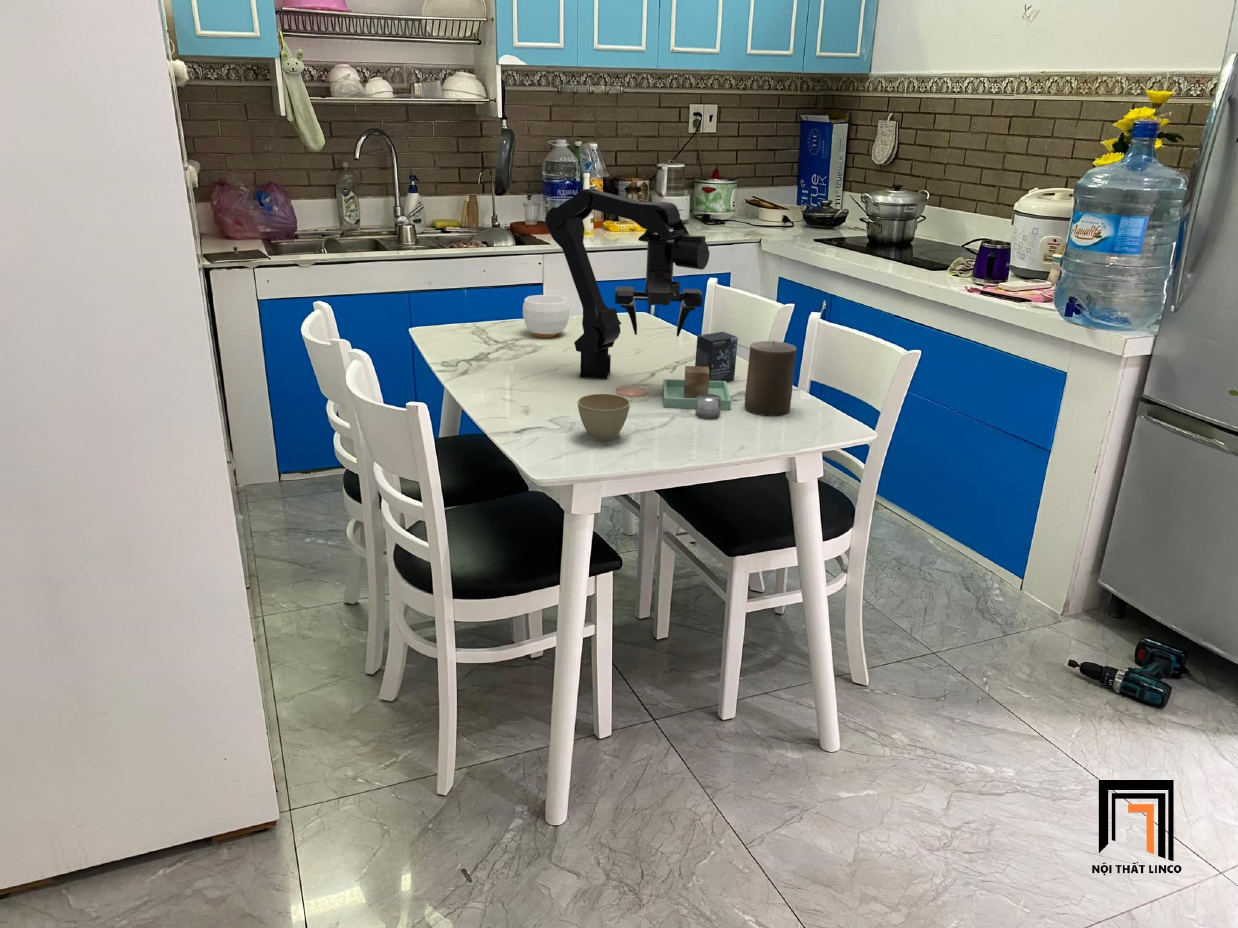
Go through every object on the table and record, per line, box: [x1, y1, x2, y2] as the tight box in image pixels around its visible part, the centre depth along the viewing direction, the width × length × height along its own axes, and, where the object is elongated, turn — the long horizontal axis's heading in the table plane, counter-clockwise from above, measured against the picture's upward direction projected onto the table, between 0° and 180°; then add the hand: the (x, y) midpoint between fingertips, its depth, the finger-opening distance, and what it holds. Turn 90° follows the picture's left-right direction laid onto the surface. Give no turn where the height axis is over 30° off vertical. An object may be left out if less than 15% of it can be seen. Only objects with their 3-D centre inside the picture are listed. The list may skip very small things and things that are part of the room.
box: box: [694, 331, 739, 382], centre depth 216 cm, size 8×6×11 cm
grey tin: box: [695, 394, 721, 421], centre depth 193 cm, size 5×5×4 cm
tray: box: [662, 378, 732, 411], centre depth 204 cm, size 14×14×2 cm
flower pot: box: [576, 392, 631, 442], centre depth 179 cm, size 10×10×7 cm
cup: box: [522, 294, 570, 338], centre depth 250 cm, size 12×12×10 cm
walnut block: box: [684, 365, 710, 399], centre depth 203 cm, size 5×5×6 cm
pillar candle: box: [744, 339, 797, 417], centre depth 196 cm, size 10×10×15 cm
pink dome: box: [615, 385, 649, 398], centre depth 207 cm, size 7×7×1 cm
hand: (656, 335), depth 206 cm, fingers open, 9 cm apart
